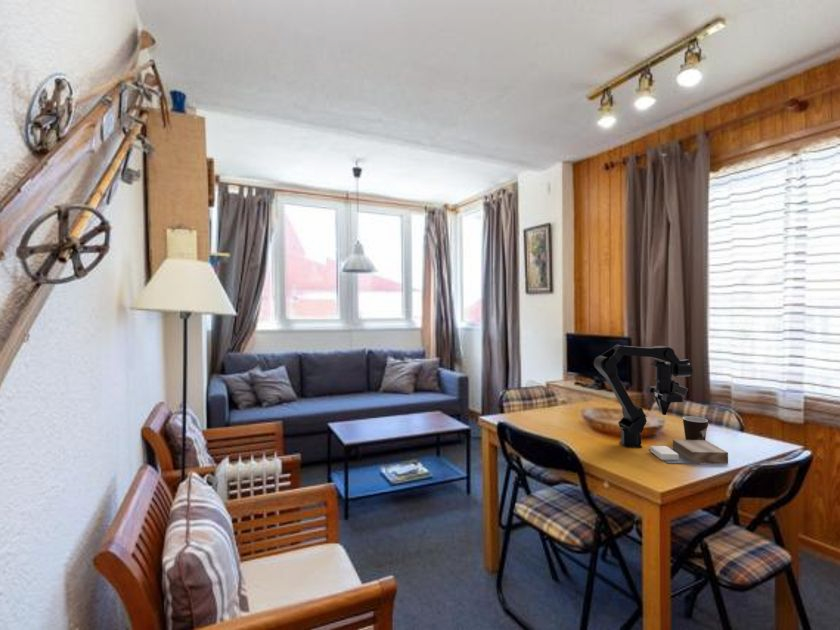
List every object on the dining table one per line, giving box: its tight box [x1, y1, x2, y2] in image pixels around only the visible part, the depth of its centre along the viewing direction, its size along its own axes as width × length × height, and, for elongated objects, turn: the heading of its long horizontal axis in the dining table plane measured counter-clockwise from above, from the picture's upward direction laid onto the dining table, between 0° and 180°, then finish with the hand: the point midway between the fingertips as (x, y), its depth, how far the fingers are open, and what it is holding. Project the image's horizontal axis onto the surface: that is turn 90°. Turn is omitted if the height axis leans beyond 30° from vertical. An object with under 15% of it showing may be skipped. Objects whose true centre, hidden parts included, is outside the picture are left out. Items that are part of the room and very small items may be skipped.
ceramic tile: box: [649, 445, 679, 461], centre depth 158 cm, size 6×9×2 cm, turn 175°
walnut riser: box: [672, 439, 729, 465], centre depth 158 cm, size 12×14×4 cm
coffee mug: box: [682, 416, 709, 440], centre depth 172 cm, size 12×9×10 cm
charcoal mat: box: [648, 448, 701, 465], centre depth 158 cm, size 11×15×1 cm
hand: (664, 414), depth 172 cm, fingers closed
